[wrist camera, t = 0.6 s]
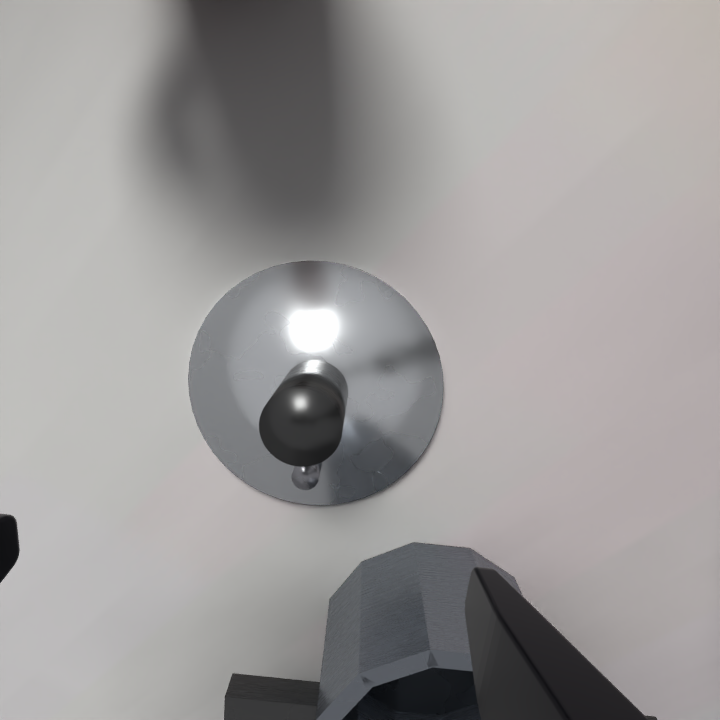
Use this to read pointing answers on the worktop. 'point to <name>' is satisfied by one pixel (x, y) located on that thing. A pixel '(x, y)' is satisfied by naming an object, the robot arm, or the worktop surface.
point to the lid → (315, 382)
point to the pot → (384, 646)
